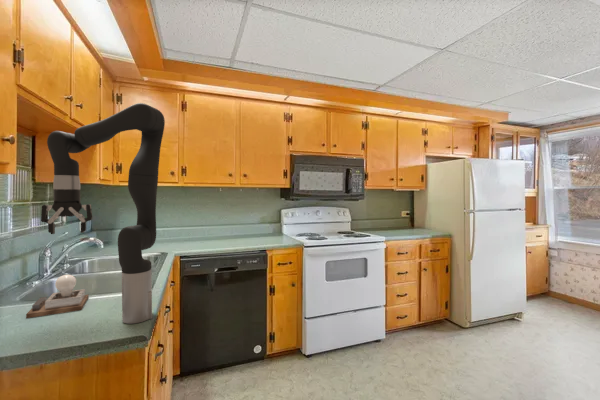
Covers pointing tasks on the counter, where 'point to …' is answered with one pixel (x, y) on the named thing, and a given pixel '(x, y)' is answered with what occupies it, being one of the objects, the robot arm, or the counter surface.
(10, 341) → the counter surface
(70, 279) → the lightbulb
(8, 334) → the counter surface
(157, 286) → the counter surface
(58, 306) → the jig
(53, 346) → the counter surface
